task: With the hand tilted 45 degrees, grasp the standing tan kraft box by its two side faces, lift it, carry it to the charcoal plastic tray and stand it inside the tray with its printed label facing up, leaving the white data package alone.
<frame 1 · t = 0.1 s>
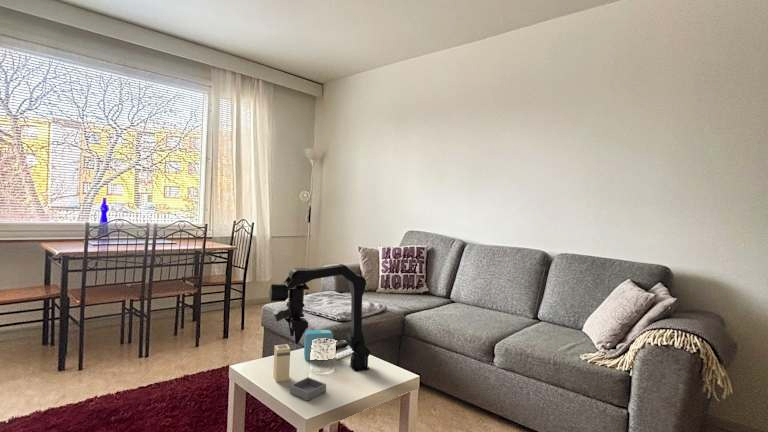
hand: (294, 339, 169), 15 cm above the table, tool pointing down, fingers open, 9 cm apart
tray: (307, 392, 156), on the table
kraft box: (281, 378, 167), on the table
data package: (317, 358, 189), on the table
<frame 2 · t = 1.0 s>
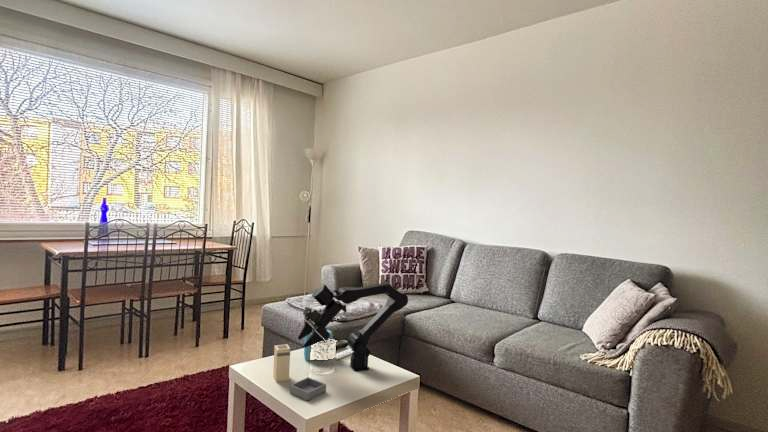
hand: (301, 342, 169), 13 cm above the table, tool tilted 45°, fingers open, 9 cm apart
nothing on the table moved.
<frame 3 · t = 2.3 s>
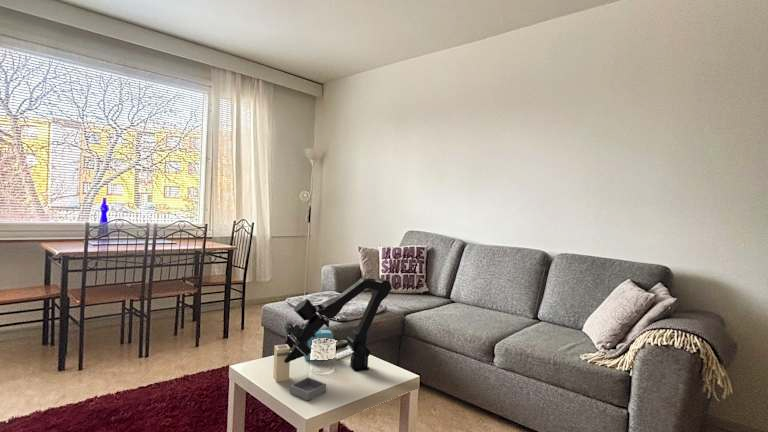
hand: (282, 357, 166), 8 cm above the table, tool tilted 45°, fingers open, 9 cm apart
nothing on the table moved.
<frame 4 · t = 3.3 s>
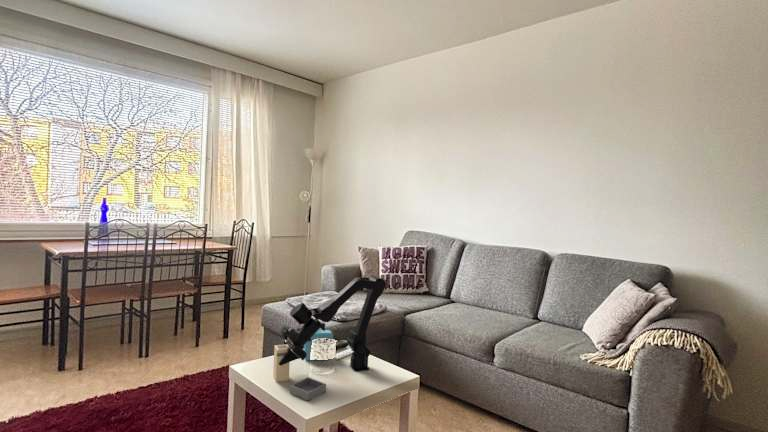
hand: (278, 362, 166), 7 cm above the table, tool tilted 45°, fingers closed on kraft box, 5 cm apart
kraft box: (281, 378, 167), on the table, touching gripper
everything else where it was.
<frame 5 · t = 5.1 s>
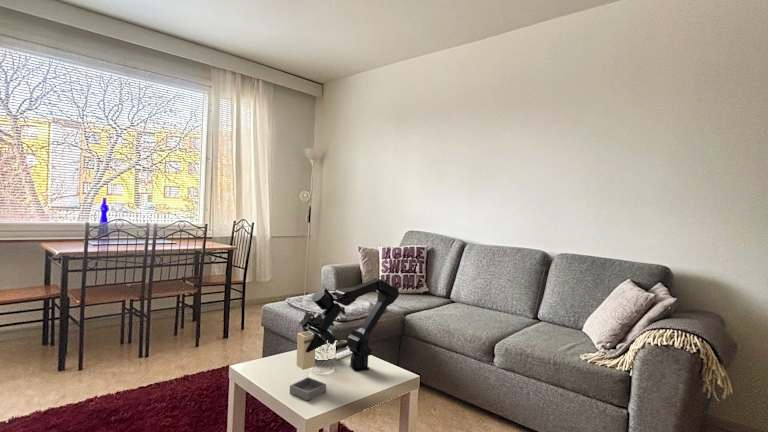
hand: (303, 349, 162), 13 cm above the table, tool tilted 45°, fingers closed on kraft box, 5 cm apart
kraft box: (305, 366, 163), point 7 cm above the table, touching gripper
everything else where it was.
when the fingers open (8 cm above the table, at t = 7.1 s): kraft box drops 1 cm, resting on tray.
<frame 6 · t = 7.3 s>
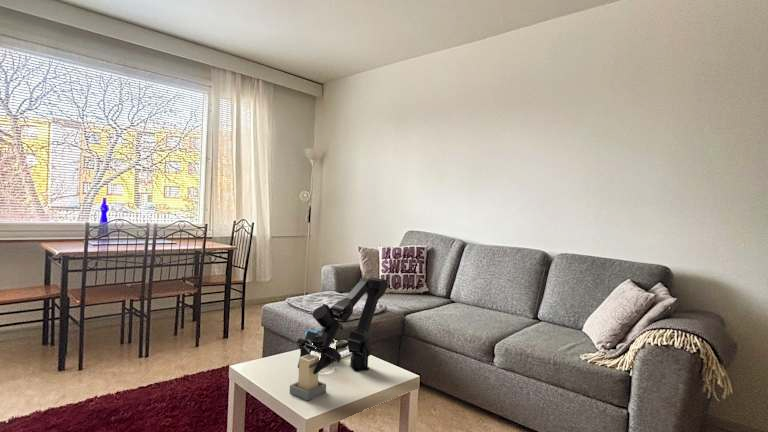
hand: (306, 370, 154), 9 cm above the table, tool tilted 45°, fingers open, 7 cm apart
kraft box: (307, 391, 156), point 1 cm above the table, touching tray
everything else where it was.
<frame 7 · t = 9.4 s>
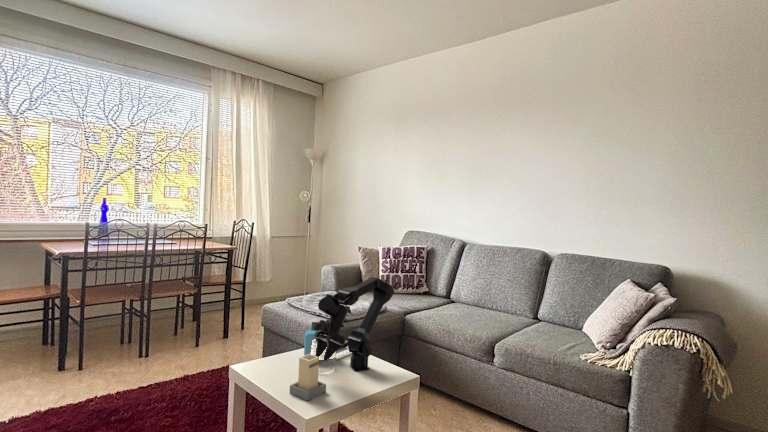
hand: (320, 359, 162), 10 cm above the table, tool tilted 30°, fingers open, 9 cm apart
nothing on the table moved.
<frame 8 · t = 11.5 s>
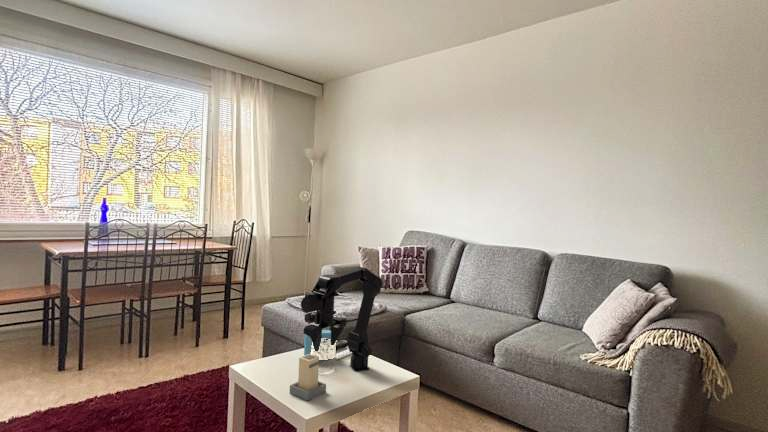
hand: (324, 348, 166), 13 cm above the table, tool pointing down, fingers open, 9 cm apart
nothing on the table moved.
at the end: kraft box 0.0 cm off-centre on the tray, point 0.6 cm above the tray's base; kraft box tilted 0°; the gripper is holding nothing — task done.
